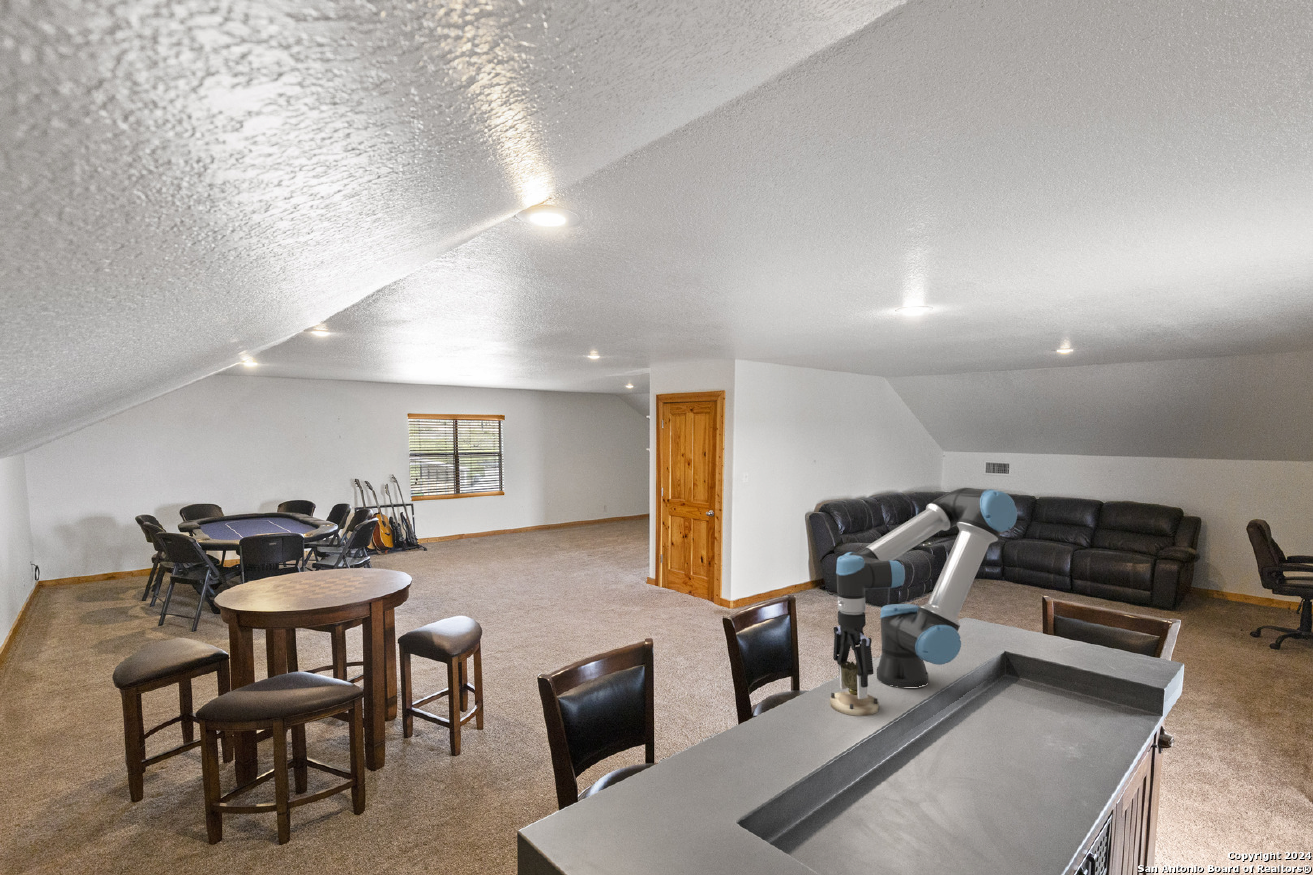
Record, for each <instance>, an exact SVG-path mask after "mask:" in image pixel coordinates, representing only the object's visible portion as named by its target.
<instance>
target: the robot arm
mask: <svg viewBox="0 0 1313 875" xmlns="http://www.w3.org/2000/svg"><path fill="white" fill-rule="evenodd" d="M1015 504H1016V503H1015V501H1014V500H1013V498H1012V497H1011V496H1010V495H1009V494H1007V493H1006V492H1004V491H1001V490H996V489H992V488H990V489H986V488H985V489H984V488H973V487H961V488H957V489H954V490H951V491H949V492H947V493H946V494H945V493H944V495H941V496H940V497H938V498H936V499H934V500H933V501H931V502H930V503H928V504H927V505H926V507H925V510H923V511H921V512H919V513H918V514H917V515H915V516H913V517H912V518H910V519H909V520H908V521H906V522H904V523H903V524H901V525H899V526H897V527H896V528H894V529H893V530H891V531H889V532H887V533H886V534H885V535H883V536H881V537H880V538H878V539H877V540H875V541H873V542H872V543H871V544H870V543H869V545H867V546H866V547H864V548H862V549H860V550H859V551H857V552H856V551H850V552H846V553H845V554H843V555H840V556H838V557H837V560H836V571H835V573H836V589H837V590H836V592H837V610H838V612H837V624H838V626H834V627H833V634H834V636H833V654H832V655H833V658H832V659H833V660H834V661H835V662H836V663H837V665H838V675H839V690H840V689H841V690H845V689H849V688H848V687H846V686H845V684H844V682H843V679H842V674H841V668H840V665H841V663H843V664H844V662H846V664H847V663H848V658H849V655H850V651H851V650H852V651H853V653H854V657H855V664H856V663H857V667H858V671H859V674H857V695H858V699H863V698H867V694H868V686H869V678H868V676H871V675H873V674H874V663H873V654H872V638H871V637H868V636H866V635H865V633H864V627H865V626H866V623H867V622H866V613H865V612H866V590H873V589H875V590H876V589H892V588H897V587H901V586H902V585H903V584H904V582H905V579H906V576H905V574H906V573H905V572H906V571H905V569H904V566H903V565H902V563H901V562H899V561H898V560H895V559H897V558H899V557H900V556H902V555H903V554H905V553H906V552H908V551H910V550H911V549H913V548H915V547H916V546H918V545H919V544H921V543H923V542H924V541H926V540H928V539H929V538H930V537H933V536H934V535H935V534H937V533H938V532H940V531H945V532H946V531H948V530H950V529H952V528H953V527H957V528H958V530H959V531H958V534H957V536H956V538H955V541H954V543H953V546H952V548H951V550H950V552H949V554H948V557H947V559H946V561H945V563H944V566H943V568H942V570H941V572H940V575H939V577H938V579H937V581H936V583H935V585H934V588H933V591H932V592H931V594H930V597H929V599H928V601H927V603H925V604H922V605H917V604H911V603H910V604H909V603H908V604H907V603H896V604H893V603H892V604H886V605H883V606H882V607H881V609H880V616H879V619H880V638H881V640H880V641H881V655H880V658H879V662H878V666H877V667H876V679H877V680H878V682H880V681H881V682H880V683H882V684H884V685H886V686H887V685H888V686H890V685H893V686H898V687H897V688H899V687H919V686H922V685H926V684H927V683H928V682H929V681H930V680H929V672H928V670H927V668H926V665H925V662H926V663H930V664H933V665H935V666H936V665H938V666H940V665H941V666H942V665H945V664H948V663H951V662H952V661H954V659H956V658H957V656H958V655H959V653H960V651H961V647H962V641H961V635H960V633H959V629H960V627H961V624H960V622H959V619H958V616H959V615H960V612H961V610H962V607H963V605H964V603H965V600H967V597H968V593H969V592H970V589H971V587H972V585H973V582H974V580H975V577H976V575H977V573H978V571H979V570H980V566H981V564H982V562H983V560H984V557H985V555H986V553H987V550H989V549H988V548H989V546H990V544H992V543H995V542H998V540H999V538H1000V536H1001V534H1002V533H1003V532H1006V531H1009V530H1011V529H1012V528H1013V527H1014V526H1015V524H1016V522H1017V519H1018V510H1017V506H1016V505H1015ZM928 684H929V683H928ZM893 686H892V687H893ZM926 686H927V685H926Z"/></svg>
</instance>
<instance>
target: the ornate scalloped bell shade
mask: <svg viewBox="0 0 1313 875" xmlns="http://www.w3.org/2000/svg"><path fill="white" fill-rule="evenodd" d="M847 661H848V660H847ZM840 668H841V674H842V679H843V682H844V684H845V686H846V687H848V688H847V689H848V691H849V693H850V694H852V695H857V674H859V671H858V667H857V663H856V662H855V663H854V661H853V660H851V662H850V661H848V663H847V664H846V662H844V664H843V663H841V665H840Z"/></svg>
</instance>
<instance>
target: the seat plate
mask: <svg viewBox="0 0 1313 875" xmlns="http://www.w3.org/2000/svg"><path fill="white" fill-rule="evenodd" d="M829 700H830V702H829V705H830V707H831V708H832V709H833V710H835V711H837V712H839V713H841V714H845V715H849V716H857V717H858V716H859V717H862V716H863V717H864V716H870V715H874V714H875V713H877V712H878V711H879V701H878V698H876V697H874V696H873V695H870V694H868V693H867V698H863V699H858V695H852V694H850V693H849V691H839V692H831V693H830V697H829Z"/></svg>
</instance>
